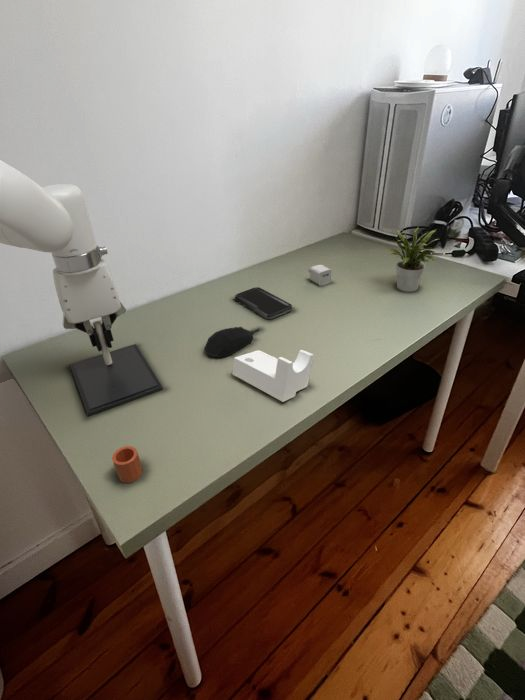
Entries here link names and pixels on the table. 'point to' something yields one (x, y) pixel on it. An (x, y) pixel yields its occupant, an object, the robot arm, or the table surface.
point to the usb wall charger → (320, 274)
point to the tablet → (114, 379)
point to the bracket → (274, 373)
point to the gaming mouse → (228, 341)
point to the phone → (263, 303)
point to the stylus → (103, 342)
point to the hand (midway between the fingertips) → (103, 345)
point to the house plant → (412, 261)
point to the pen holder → (127, 464)
